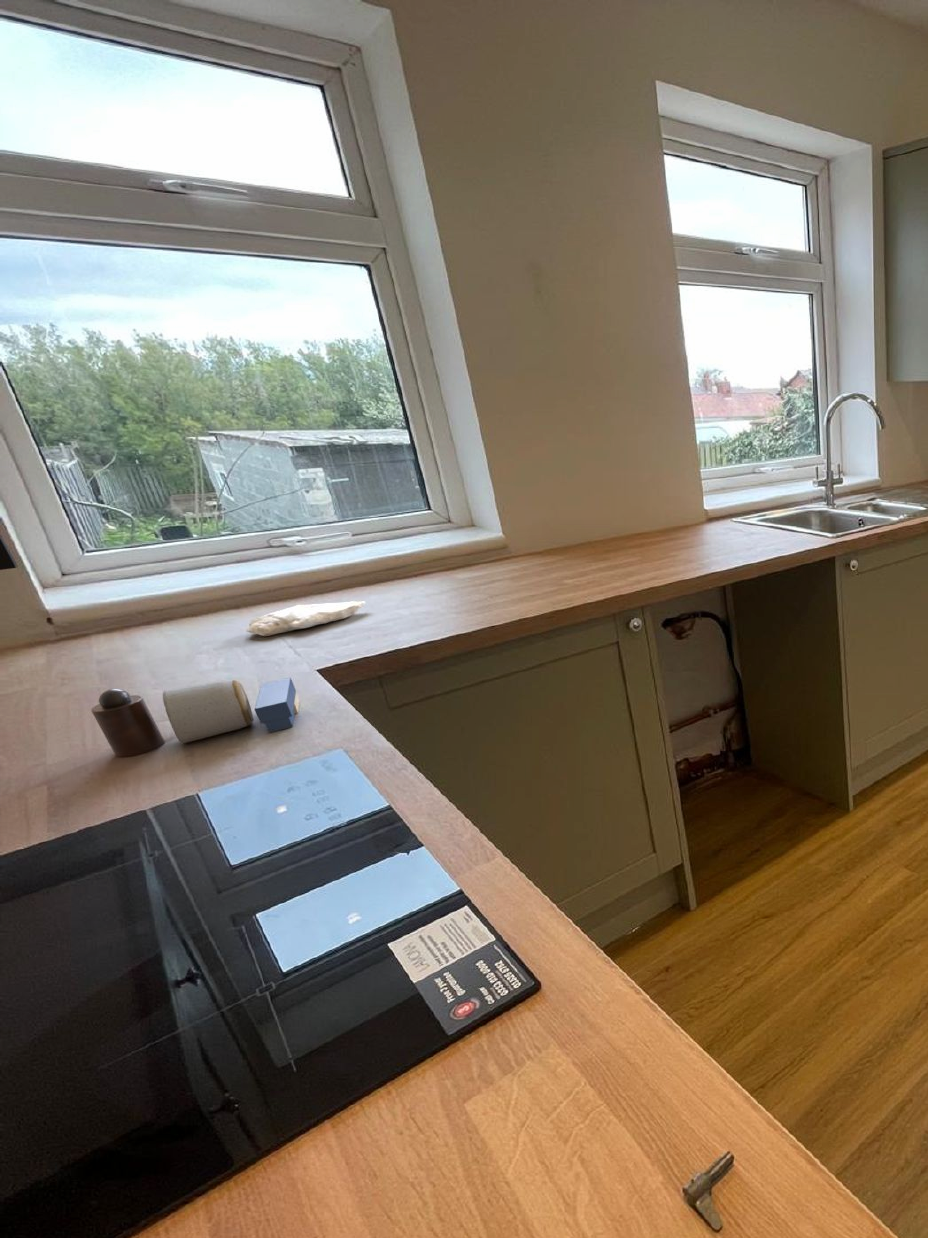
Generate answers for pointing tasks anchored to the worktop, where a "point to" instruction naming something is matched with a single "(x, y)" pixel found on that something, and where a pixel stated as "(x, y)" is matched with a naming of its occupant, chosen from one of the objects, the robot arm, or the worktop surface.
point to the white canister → (207, 709)
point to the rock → (302, 617)
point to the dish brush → (277, 704)
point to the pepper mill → (126, 723)
